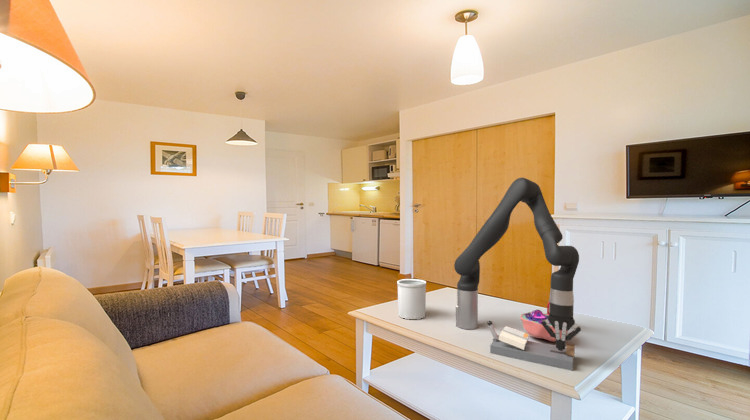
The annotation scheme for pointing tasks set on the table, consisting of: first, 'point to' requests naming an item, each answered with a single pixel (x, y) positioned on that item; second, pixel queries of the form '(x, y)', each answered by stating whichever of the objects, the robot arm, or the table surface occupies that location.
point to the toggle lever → (492, 330)
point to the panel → (534, 353)
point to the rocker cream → (512, 340)
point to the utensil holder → (411, 298)
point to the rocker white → (516, 333)
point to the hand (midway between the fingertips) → (560, 349)
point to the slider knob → (570, 349)
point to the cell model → (537, 325)
